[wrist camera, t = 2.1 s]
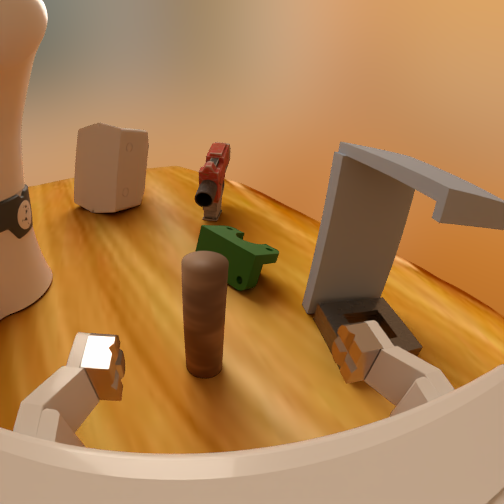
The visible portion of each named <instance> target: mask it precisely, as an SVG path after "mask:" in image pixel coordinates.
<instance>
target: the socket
mask: <svg viewBox="0 0 504 504" xmlns="http://www.w3.org/2000/svg"><path fill="white" fill-rule="evenodd" d="M313 319H314V321H315V323H316V325H317V326H318V328H319V330H320V332H321V334H322V336H323V338H324V340H325V342H326V343H327V345H328V347H329V349H330V351H331V353H332V345H333V342H334V340H335V339H336V338H337V337H338V336H339V335H338V333H337V331H338V329H339V327H340V326H341V325H344V324H351V323H358V322H365V321H371V320H375V321H376V322H377V323H378V324H379V326H380V327H381V328H382V330H383V331H384V332H385V334H386V335H387V337H388V338H389V339H390V341H391V342H392V344H393V345H394V346H398V347H400V348H402V349H404V350H406V351H407V352H409V353H411V354H413V355H415V356H417V355H418V354H419V352H420V350H421V349H422V346H421V344H420V343H419V342H418V341H417V339H416V338H415V337H414V335H413V334H412V333H411V332H410V330H409V329H408V328H407V327H406V325H405V324H404V323H403V322H402V320H401V319H400V318H399V317H398V315H397V314H396V313H395V312H394V311H393V309H392V308H391V307H390V306H389V304H388V303H387V302H386V301H385V300H384V298H383V297H382V298H372V299H362V300H351V301H340V302H327V303H318V305H317V308H316V312H315V315H314V318H313ZM337 365H338V364H337ZM338 367H339V368H340V369H341V366H340V365H338Z"/></svg>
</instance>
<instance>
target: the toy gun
mask: <svg viewBox="0 0 504 504" xmlns="http://www.w3.org/2000/svg"><path fill="white" fill-rule="evenodd" d="M229 161H230V144H226V143H217V142H215V143H213V144H212V146H211V148H210V150H209V152H208V154H207V156H206V163H205V165H204V167H201V168H200V170H199V188H198V190H197V193H196V195H195V202H196V203H197V204H198V205H199V206H201V207H203V210H204V217H203V220H210V221H217V220H218V218H219V216H220V214H221V212H222V210H221V201H222V194H223V190H224V178H225V172H226V169H227V166H228V164H229Z"/></svg>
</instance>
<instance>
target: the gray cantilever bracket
mask: <svg viewBox="0 0 504 504" xmlns="http://www.w3.org/2000/svg"><path fill="white" fill-rule="evenodd" d="M415 189H416V190H417V191H419V192H421V193H423V194H425V195H427V196H428V197H430V198H432V199H434V200H436V201H437V202H436V205H435V209H434V212H433V216H432V218H433V219H434V220H436V221H437V222H439V223H447V224H457V225H465V226H474V227H483V228H491V229H500V230H504V200H502V199H500V198H498V197H496V196H495V195H493V194H491V193H489V192H487V191H485V190H483V189H481V188H479V187H477V186H475V185H473V184H471V183H469V182H467V181H465V180H463V179H461V178H459V177H457V176H454V175H452V174H450V173H448V172H446V171H443V170H441V169H439V168H436V167H434V166H432V165H429V164H427V163H425V162H422V161H420V160H417V159H415V158H412V157H410V156H406V155H401V154H398V153H394V152H389V151H385V150H380V149H375V148H371V147H366V146H361V145H356V144H350V143H345V142H340V146H339V152H334V157H333V163H332V169H331V174H330V179H329V185H328V190H327V195H326V201H325V206H324V211H323V216H322V220H321V225H320V230H319V235H318V239H317V244H316V248H315V253H314V257H313V262H312V266H311V270H310V275H309V279H308V283H307V287H306V291H305V295H304V299H303V303H302V305H303V307H304V309H305V311H306V313H307V314H314V313H315V312H316V308H317V305H318V303H327V302H340V301H351V300H362V299H372V298H380V296H381V294H382V291H383V289H384V286H385V283H386V281H387V278H388V275H389V272H390V270H391V267H392V264H393V261H394V258H395V255H396V252H397V249H398V246H399V243H400V240H401V236H402V234H403V230H404V227H405V224H406V220H407V216H408V213H409V210H410V206H411V202H412V199H413V194H414V191H415Z"/></svg>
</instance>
